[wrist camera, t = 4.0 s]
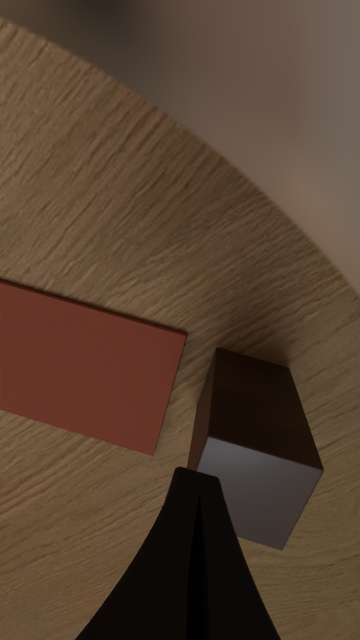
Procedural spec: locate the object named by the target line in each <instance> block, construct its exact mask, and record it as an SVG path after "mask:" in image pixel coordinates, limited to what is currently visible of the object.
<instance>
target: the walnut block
mask: <svg viewBox="0 0 360 640" xmlns="http://www.w3.org/2000/svg"><path fill="white" fill-rule="evenodd" d="M187 469H191V470H194V471H198V472H201V473H205V474H208V475H212V476H216V477H218V478H219V480H220V482H221V486H222V490H223V494H224V498H225V501H226V505H227V508H228V511H229V515H230V518H231V521H232V524H233V527H234V530H235V533H236V536H237V537H240V538H244V539H247V540H250V541H253V542H256V543H260V544H263V545H266V546H269V547H272V548H276V549H279V550H283V548H284V546H285V544H286V542H287V540H288V539H289V537H290V535H291V533H292V531H293V529H294V527H295V525H296V523H297V521H298V519H299V517H300V516H301V514H302V512H303V510H304V508H305V506H306V504H307V502H308V500H309V498H310V496H311V495H312V493H313V491H314V489H315V487H316V485H317V483H318V481H319V479H320V477H321V475H322V474H323V472H324V469H323V466H322V463H321V460H320V457H319V454H318V451H317V448H316V445H315V442H314V439H313V436H312V433H311V430H310V428H309V425H308V422H307V419H306V416H305V413H304V410H303V407H302V404H301V401H300V398H299V395H298V392H297V390H296V387H295V384H294V381H293V378H292V375H291V372H290V369H289V368H286V367H283V366H279V365H276V364H272V363H269V362H265V361H262V360H258V359H255V358H251V357H248V356H244V355H241V354H237V353H234V352H231V351H227V350H224V349H220V348H216V349H215V352H214V355H213V358H212V362H211V365H210V368H209V371H208V374H207V377H206V380H205V383H204V387H203V390H202V393H201V396H200V399H199V402H198V405H197V409H196V415H195V421H194V428H193V434H192V440H191V446H190V452H189V458H188V465H187Z"/></svg>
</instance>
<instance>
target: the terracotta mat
mask: <svg viewBox="0 0 360 640" xmlns="http://www.w3.org/2000/svg"><path fill="white" fill-rule="evenodd" d="M186 337H187V334H186V333H182V332H179V331H175V330H172V329H168V328H165V327H161V326H158V325H154V324H151V323H147V322H144V321H140V320H137V319H133V318H130V317H126V316H123V315H119V314H116V313H112V312H109V311H105V310H102V309H99V308H95V307H92V306H88V305H85V304H81V303H78V302H74V301H71V300H67V299H64V298H60V297H57V296H53V295H50V294H46V293H43V292H39V291H36V290H32V289H29V288H25V287H22V286H18V285H15V284H12V283H8V282H5V281H1V280H0V409H1V410H4V411H7V412H10V413H14V414H17V415H20V416H23V417H27V418H30V419H33V420H37V421H40V422H43V423H46V424H50V425H53V426H56V427H59V428H63V429H66V430H69V431H73V432H76V433H79V434H82V435H86V436H89V437H92V438H96V439H99V440H102V441H105V442H109V443H112V444H115V445H118V446H122V447H125V448H128V449H132V450H135V451H138V452H141V453H145V454H148V455H151V456H153V455H154V452H155V448H156V445H157V441H158V437H159V434H160V430H161V427H162V423H163V420H164V416H165V412H166V409H167V405H168V402H169V398H170V395H171V391H172V387H173V384H174V380H175V377H176V373H177V370H178V366H179V362H180V359H181V355H182V352H183V348H184V345H185V341H186Z"/></svg>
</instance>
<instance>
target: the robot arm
mask: <svg viewBox="0 0 360 640" xmlns="http://www.w3.org/2000/svg"><path fill="white" fill-rule="evenodd" d="M75 640H281V639H280V637H279V635H278V633H277V631H276V629H275V627H274V625H273V622H272V620H271V618H270V616H269V614H268V612H267V610H266V608H265V606H264V603H263V601H262V599H261V597H260V594H259V592H258V590H257V588H256V585H255V583H254V580H253V578H252V575H251V573H250V571H249V568H248V566H247V563H246V560H245V558H244V555H243V553H242V550H241V547H240V544H239V541H238V539H237V536H236V533H235V530H234V527H233V524H232V521H231V518H230V515H229V511H228V508H227V505H226V501H225V498H224V494H223V490H222V486H221V482H220V480H219V478H218V477H216V476H212V475H208V474H205V473H201V472H198V471H194V470H191V469H187V468H183V467H177V468H175V471H174V474H173V477H172V480H171V484H170V487H169V490H168V493H167V496H166V499H165V503H164V505H163V507H162V509H161V511H160V513H159V515H158V517H157V519H156V521H155V523H154V525H153V527H152V529H151V530H150V532H149V534H148V536H147V537H146V539H145V541H144V543H143V544H142V546H141V548H140V549H139V551H138V553H137V554H136V556H135V558H134V559H133V561H132V562H131V564H130V565H129V567H128V569H127V570H126V572H125V573H124V574H123V576H122V577H121V579H120V580H119V582H118V583H117V585H116V586H115V588H114V589H113V590H112V592H111V593H110V595H109V596H108V597H107V599H106V600H105V602H104V603H103V604H102V606H101V607H100V608H99V610H98V611H97V612H96V614H95V615H94V616H93V618H92V619H91V620H90V622H89V623H88V624H87V625H86V627H85V628H84V629H83V630H82V632H81V633H80V634H79V635H78V637H77V638H76V639H75Z"/></svg>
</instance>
